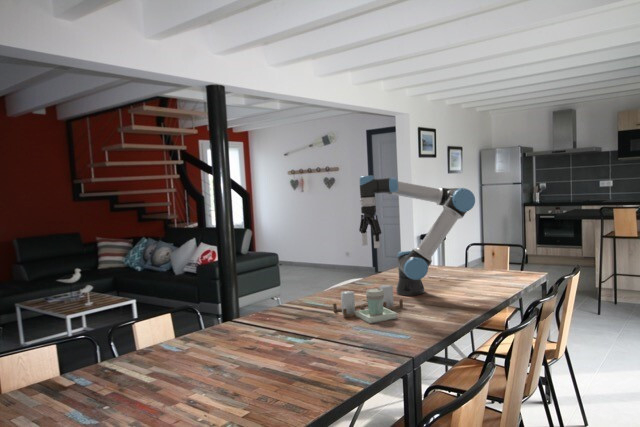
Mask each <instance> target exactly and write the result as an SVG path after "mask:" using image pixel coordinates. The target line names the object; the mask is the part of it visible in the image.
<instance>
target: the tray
mask: <svg viewBox="0 0 640 427" xmlns="http://www.w3.org/2000/svg"><path fill="white" fill-rule="evenodd" d="M355 313H356V316H355V317H357V318H358V319H360V320H362V321H364V322H365V323H367V324H369V323H370V324H374V323H381V322H386V321H391V320H396V319H398V313H397V312H396V311H393V310H389V309H387V308H385V307H383V315H379V316H373V317H370V314H369V308H364V310H361V309H360V310H355Z"/></svg>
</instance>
